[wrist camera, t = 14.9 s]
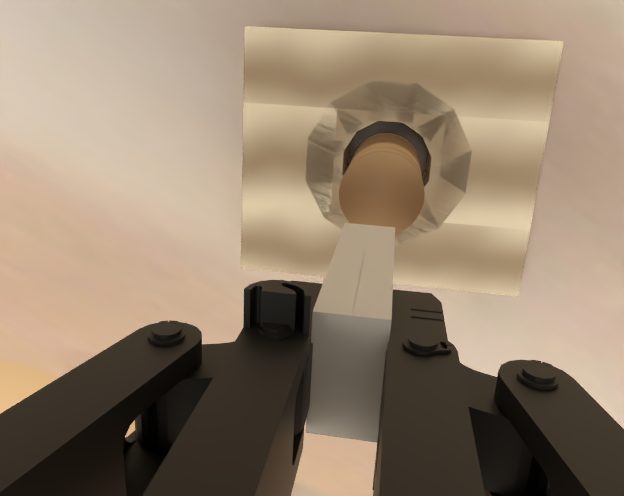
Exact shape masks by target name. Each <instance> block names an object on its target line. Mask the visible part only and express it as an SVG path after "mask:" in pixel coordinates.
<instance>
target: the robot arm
mask: <svg viewBox="0 0 624 496" xmlns="http://www.w3.org/2000/svg"><path fill="white" fill-rule="evenodd" d="M394 243H395V227H386V226H375V225H364V224H352V223H345V224H344V227H343V230H342V232H341V235H340V238H339V241H338V243H337V246H336V249H335V252H334V254H333V257H332V260H331V263H330V265H329V268H328V271H327V273H326V276H325V279H324V282H323V284H319V283H309V282H299V281H284V280H268V281H260V282H256V283H253V284H250V285H249V286H248V287H246V288H245V289H244V328H243V329H242V331H241V333H240V334H239V336H238V338H237V339H236V341H235V342H230V343H221V344H203V345H202V334H201V331H200V330H199V329H198V328H197V327H195V326H192V325H190V324H187V323H181V322H178V321H169V322H168V321H161V322H159V323H155V324H151V325H147V326H145V327H143V328H141V329H138V330H137V331H135V332H133V333H132V334H130V335H129V336H127V337H125V338H124V339H122V340H120V341H119V342H117V343H115V344H114V345H112V346H111V347H109V348H107V349H106V350H104V351H102V352H101V353H99V354H97V355H96V356H94V357H93V358H91V359H89V360H88V361H86V362H84V363H83V364H81V365H79V366H78V367H76V368H75V369H73V370H71V371H70V372H68V373H66V374H65V375H63V376H61V377H60V378H58V379H57V380H55V381H53V382H52V383H50V384H48V385H47V386H45V387H43V388H42V389H40V390H39V391H37V392H35V393H34V394H32V395H30V396H29V397H27V398H25V399H24V400H22V401H21V402H19V403H17V404H16V405H14V406H12V407H11V408H9V409H7V410H6V411H4V412H3V413H1V414H0V496H291V492H292V489H293V485H294V481H295V477H296V473H297V469H298V465H299V461H300V457H301V453H302V449H303V437H304V425H305V421H306V417H307V422H306V433H313V434H320V435H327V436H335V437H342V438H349V439H357V440H364V441H371V442H377V452H376V462H375V471H374V481H373V490H374V492H373V496H624V429H623V428H622V427H621V426H620V425H619V424H618V423H617V422H616V421H615V420H614V419H613V418H612V417H611V416H610V415H609V414H608V413H607V412H606V411H605V410H604V409H603V408H602V407H601V406H600V405H599V404H598V403H597V402H596V401H595V400H594V399H593V398H592V397H591V396H590V395H589V394H588V393H587V392H586V391H585V390H584V389H583V388H582V387H581V386H580V385H579V384H578V383H577V382H576V381H575V379H573V378H572V377H571V376H569V375H568V374H567V373H565V372H564V371H562V370H560V369H558V368H556V367H553V366H552V365H551V364H548V363H545V362H543V363H541V361H536V360H531V361H529V360H515V361H509V362H507V363H505V364H503V365H501V367H500V369H499V371H498V377H495V376H491V375H488V374H484V373H481V372H478V371H475V370H472V369H470V368H468V367H466V366H464V365H463V364H461V363H460V362H459V357H458V351H457V350H456V348H455V346H454V345H453V344H452V343H450V342H449V341H448V339H447V333H446V327H445V322H444V316H443V310H442V304H441V302H440V301H439V300H438V299H437V298H436V297H435V296H434V295H432V294H431V293H421V292H412V291H402V290H393V269H394ZM134 420H135V431H134V432H133V433H131V434H130V435H129V436H128V437H126V438H125V435H126V433H127V431H128V429H129V426H130V425H131V423H132V422H133V421H134Z"/></svg>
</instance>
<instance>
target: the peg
mask: <svg viewBox="0 0 624 496" xmlns="http://www.w3.org/2000/svg"><path fill="white" fill-rule="evenodd" d="M424 195H425V193H424V185H423V180H422V175H421V161H420V157H419V154H418V152H417V150H416V148H415V147H414V145H413V144H412V143H411V142H410V141H409V140H407V139H406V138H405V137H403V136H401V135H398V134H395V133H387V132H384V133H378V134H375V135H372V136H370V137H368V138H367V139H365V140H364V141H363V142H362V143H361V144H360V145H359V146H358V147H357V149H356V151H355V152H354V155H353V157H352V160H351V163H350V165H349V167H348V169H347V170H346V172H345V174H344V176H343V178H342V180H341V184H340V188H339V202H340V206H341V209H342V211H343V214H344V215H345V217H346V218H347V220H348V221H349V222H350V223H352V224H364V225H375V226H386V227H395V234H397V233H399V232H401V231H403V230H405V229H406V228H408V227H409V226H410V225H411V224H412V223H413V222H414V221H415V220H416V219H417V217H418V216H419V214H420V212H421V210H422V207H423V203H424Z"/></svg>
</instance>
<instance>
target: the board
mask: <svg viewBox="0 0 624 496" xmlns="http://www.w3.org/2000/svg"><path fill="white" fill-rule="evenodd" d="M563 43H564V41H550V40H529V39H507V38H486V37H465V36H443V35H422V34H401V33H380V32H358V31H337V30H316V29H295V28H273V27H252V26H245V38H244V105H243V172H242V238H241V268H246V269H256V270H265V271H275V272H285V273H295V274H304V275H314V276H324V277H325V276H326V273H327V271H328V268H329V265H330V263H331V260H332V257H333V254H334V252H335V249H336V246H337V243H338V241H339V238H340V235H341V232H342V230H343V227H344V224H345V223H350V222H349V221H348V220H347V218H346V217H345V215H344V214H343V211H342V209H341V206H340V202H339V188H340V184H341V180H342V178H343V176H344V174H345V172H346V170H347V169H348V167H349V166H348V153H349V143H350V142H351V140H352V139H353V137H354V136H355V134H356V133H357V131H359V130H361V129H363V128H365V127H367V126H369V125H371V124H373V123H375V122H377V121H388V122H402V123H404V124H405V125H407V126H408V127H410V128H411V129H413V130H414V131H415V132H417V133H418V134H420V135H421V136H422V137H423V139H424V142H425V144H426V146H427V148H428V151H429V152H428V160H427V169H426V172H425V173H424V174H423V176H422V180H423V185H424V193H425V195H424V203H423V207H422V210H421V212H420V214H419V216H418V217H417V219H416V220H415V221H414V222H413V223H412V224H411V225H410V226H409V227H408V228H406V229H405V230H403V231H401V232H399V233H397V234H395V243H394V269H393V284H401V285H411V286H421V287H431V288H440V289H450V290H460V291H469V292H479V293H489V294H499V295H508V296H518V295H519V290H520V284H521V278H522V273H523V267H524V261H525V256H526V250H527V245H528V239H529V233H530V228H531V222H532V217H533V211H534V205H535V200H536V194H537V189H538V183H539V177H540V172H541V166H542V160H543V155H544V149H545V144H546V138H547V132H548V127H549V121H550V116H551V110H552V104H553V99H554V93H555V88H556V82H557V76H558V71H559V65H560V59H561V54H562V48H563Z"/></svg>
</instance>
